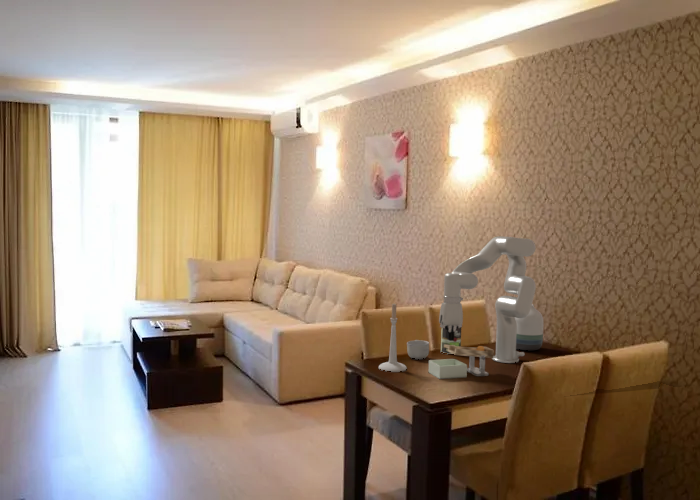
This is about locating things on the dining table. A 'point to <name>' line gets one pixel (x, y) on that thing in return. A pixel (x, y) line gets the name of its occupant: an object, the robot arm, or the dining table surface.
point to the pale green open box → (447, 368)
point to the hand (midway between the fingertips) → (450, 340)
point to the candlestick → (393, 348)
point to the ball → (480, 348)
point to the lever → (469, 351)
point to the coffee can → (445, 340)
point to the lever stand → (476, 371)
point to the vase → (530, 331)
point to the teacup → (418, 349)
